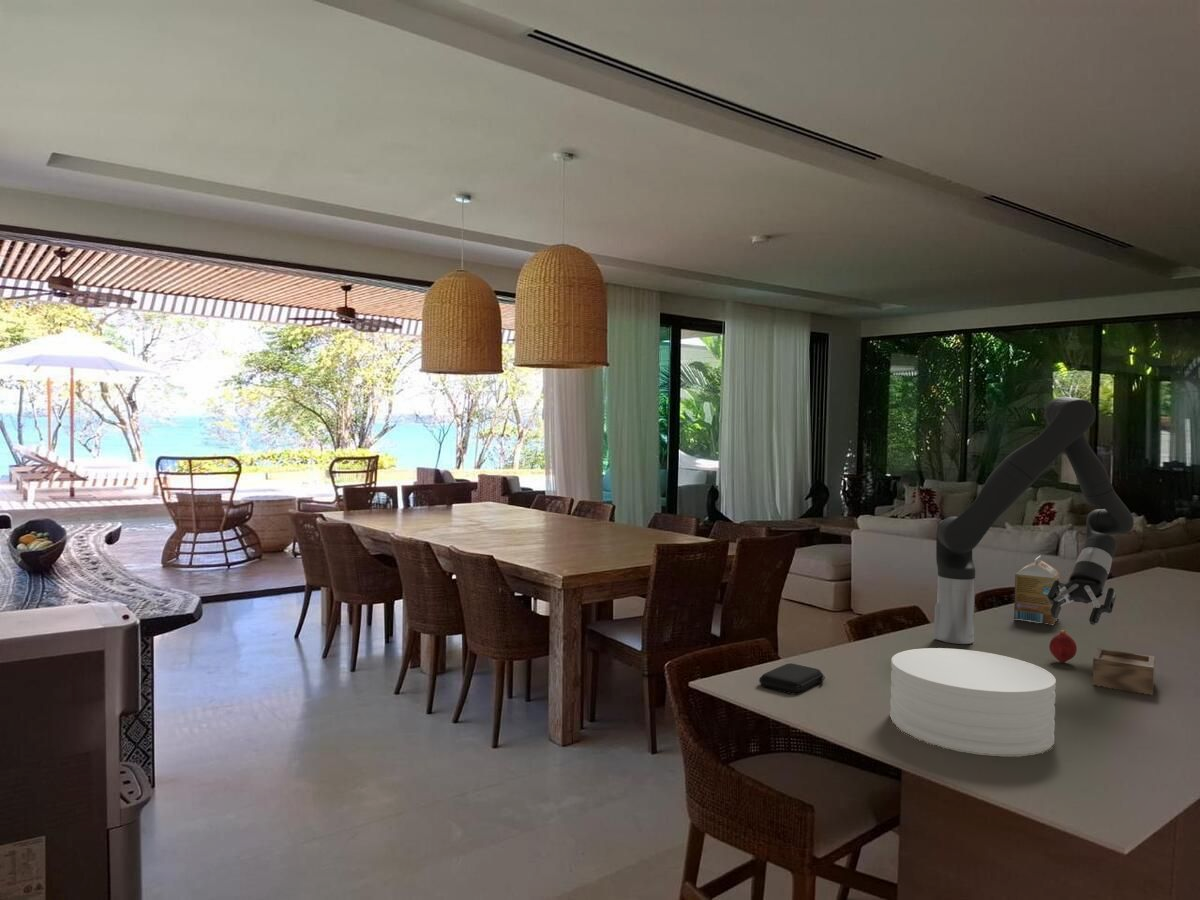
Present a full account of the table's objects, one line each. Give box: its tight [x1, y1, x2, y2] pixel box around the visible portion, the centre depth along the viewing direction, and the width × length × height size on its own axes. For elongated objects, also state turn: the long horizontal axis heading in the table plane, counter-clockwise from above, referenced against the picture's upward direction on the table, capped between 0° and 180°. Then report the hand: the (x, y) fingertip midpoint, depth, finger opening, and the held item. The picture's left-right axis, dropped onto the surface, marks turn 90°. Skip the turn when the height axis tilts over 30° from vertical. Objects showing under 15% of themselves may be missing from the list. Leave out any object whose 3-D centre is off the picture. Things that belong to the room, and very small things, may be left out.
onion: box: [1048, 629, 1078, 664], centre depth 195 cm, size 6×6×8 cm
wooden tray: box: [1092, 647, 1156, 696], centre depth 179 cm, size 11×11×6 cm
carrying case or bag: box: [758, 662, 826, 694], centre depth 175 cm, size 11×3×15 cm
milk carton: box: [1013, 555, 1061, 625], centre depth 242 cm, size 10×11×19 cm
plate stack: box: [889, 647, 1057, 754], centre depth 150 cm, size 28×28×12 cm
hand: (1072, 619), depth 199 cm, fingers open, 8 cm apart
